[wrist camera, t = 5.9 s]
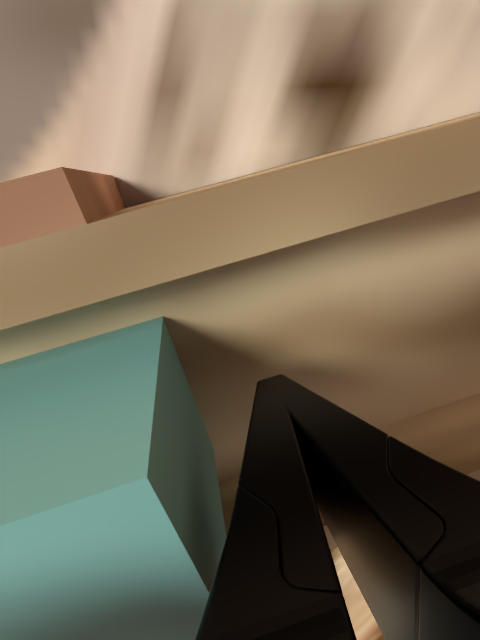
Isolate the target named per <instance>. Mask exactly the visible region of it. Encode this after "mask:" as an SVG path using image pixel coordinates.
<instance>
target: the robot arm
mask: <svg viewBox="0 0 480 640" xmlns="http://www.w3.org/2000/svg"><path fill="white" fill-rule="evenodd" d="M238 485H239V487H238V488H237V492H236V498H235V503H234V508H233V512H232V517H231V522H230V526H229V530H228V534H227V537H226V541H225V544H224V548H223V552H222V555H221V559H220V562H219V565H218V568H217V571H216V575H215V578H214V581H213V584H212V587H211V591H210V594H209V597H208V600H207V603H206V606H205V610H204V613H203V616H202V619H201V622H200V626H199V629H198V632H197V635H196V638H195V640H356V636H355V633H354V630H353V627H352V623H351V620H350V617H349V613H348V610H347V607H346V603H345V600H344V597H343V594H342V589H341V586H340V583H339V579H338V576H337V572H336V569H335V565H334V562H333V558H332V555H331V552H330V548H329V545H328V541H327V538H326V534H325V531H324V527H323V524H322V521H321V517H320V514H319V511H320V513H321V515H322V517H323V519H324V521H325V523H326V525H327V527H328V529H329V531H330V533H331V535H332V537H333V538H334V540H335V542H336V544H337V546H338V548H339V550H340V552H341V554H342V556H343V558H344V560H345V562H346V564H347V566H348V568H349V569H350V571H351V573H352V575H353V577H354V579H355V581H356V583H357V585H358V587H359V589H360V591H361V593H362V595H363V597H364V598H365V600H366V602H367V604H368V606H369V608H370V610H371V612H372V614H373V616H374V618H375V620H376V622H377V624H378V626H379V628H380V629H381V631H382V633H383V635H384V637H385V639H386V640H480V481H479V480H477V479H475V478H472V477H470V476H468V475H466V474H464V473H462V472H460V471H457V470H455V469H453V468H451V467H449V466H447V465H445V464H443V463H441V462H439V461H437V460H435V459H433V458H431V457H429V456H427V455H425V454H423V453H421V452H420V451H418V450H416V449H414V448H412V447H410V446H408V445H407V444H405V443H403V442H401V441H399V440H398V439H396V438H394V437H392V436H389V437H388V434H387V433H385V432H383V431H382V430H380V429H378V428H376V427H375V426H373V425H371V424H369V423H367V422H366V421H364V420H362V419H360V418H359V417H357V416H355V415H353V414H352V413H350V412H348V411H346V410H345V409H343V408H341V407H339V406H337V405H336V404H334V403H332V402H330V401H329V400H327V399H325V398H323V397H322V396H320V395H318V394H316V393H315V392H313V391H311V390H309V389H308V388H306V387H304V386H302V385H300V384H299V383H297V382H295V381H293V380H292V379H290V378H288V377H286V376H285V375H283V374H279V375H276V376H272V377H269V378H266V379H263V380H260V381H258V382H257V385H256V390H255V396H254V401H253V407H252V412H251V418H250V423H249V428H248V434H247V439H246V445H245V450H244V456H243V461H242V466H241V472H240V477H239V483H238ZM318 509H319V510H318Z"/></svg>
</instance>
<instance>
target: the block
mask: <svg viewBox="0 0 480 640" xmlns="http://www.w3.org/2000/svg"><path fill="white" fill-rule="evenodd" d="M225 541H226V531H225V524H224V517H223V510H222V503H221V496H220V489H219V482H218V475H217V468H216V461H215V454H214V449H213V446H212V444H211V441H210V439H209V436H208V433H207V431H206V428H205V425H204V423H203V420H202V417H201V415H200V412H199V410H198V407H197V404H196V402H195V399H194V396H193V394H192V391H191V388H190V386H189V383H188V381H187V378H186V375H185V373H184V370H183V367H182V365H181V362H180V359H179V357H178V354H177V352H176V349H175V346H174V344H173V341H172V338H171V336H170V333H169V330H168V328H167V325H166V323H165V320H164V317H163V316H162V317H159V318H155V319H152V320H148V321H145V322H141V323H138V324H135V325H131V326H128V327H124V328H121V329H118V330H114V331H111V332H107V333H104V334H101V335H97V336H94V337H90V338H87V339H84V340H80V341H77V342H73V343H70V344H66V345H63V346H60V347H56V348H53V349H49V350H46V351H43V352H39V353H36V354H32V355H29V356H26V357H22V358H19V359H15V360H12V361H9V362H5V363H2V364H0V640H195V638H196V635H197V632H198V629H199V626H200V622H201V619H202V616H203V613H204V610H205V606H206V603H207V600H208V597H209V594H210V591H211V587H212V584H213V581H214V578H215V575H216V571H217V568H218V565H219V562H220V559H221V555H222V552H223V548H224V544H225Z"/></svg>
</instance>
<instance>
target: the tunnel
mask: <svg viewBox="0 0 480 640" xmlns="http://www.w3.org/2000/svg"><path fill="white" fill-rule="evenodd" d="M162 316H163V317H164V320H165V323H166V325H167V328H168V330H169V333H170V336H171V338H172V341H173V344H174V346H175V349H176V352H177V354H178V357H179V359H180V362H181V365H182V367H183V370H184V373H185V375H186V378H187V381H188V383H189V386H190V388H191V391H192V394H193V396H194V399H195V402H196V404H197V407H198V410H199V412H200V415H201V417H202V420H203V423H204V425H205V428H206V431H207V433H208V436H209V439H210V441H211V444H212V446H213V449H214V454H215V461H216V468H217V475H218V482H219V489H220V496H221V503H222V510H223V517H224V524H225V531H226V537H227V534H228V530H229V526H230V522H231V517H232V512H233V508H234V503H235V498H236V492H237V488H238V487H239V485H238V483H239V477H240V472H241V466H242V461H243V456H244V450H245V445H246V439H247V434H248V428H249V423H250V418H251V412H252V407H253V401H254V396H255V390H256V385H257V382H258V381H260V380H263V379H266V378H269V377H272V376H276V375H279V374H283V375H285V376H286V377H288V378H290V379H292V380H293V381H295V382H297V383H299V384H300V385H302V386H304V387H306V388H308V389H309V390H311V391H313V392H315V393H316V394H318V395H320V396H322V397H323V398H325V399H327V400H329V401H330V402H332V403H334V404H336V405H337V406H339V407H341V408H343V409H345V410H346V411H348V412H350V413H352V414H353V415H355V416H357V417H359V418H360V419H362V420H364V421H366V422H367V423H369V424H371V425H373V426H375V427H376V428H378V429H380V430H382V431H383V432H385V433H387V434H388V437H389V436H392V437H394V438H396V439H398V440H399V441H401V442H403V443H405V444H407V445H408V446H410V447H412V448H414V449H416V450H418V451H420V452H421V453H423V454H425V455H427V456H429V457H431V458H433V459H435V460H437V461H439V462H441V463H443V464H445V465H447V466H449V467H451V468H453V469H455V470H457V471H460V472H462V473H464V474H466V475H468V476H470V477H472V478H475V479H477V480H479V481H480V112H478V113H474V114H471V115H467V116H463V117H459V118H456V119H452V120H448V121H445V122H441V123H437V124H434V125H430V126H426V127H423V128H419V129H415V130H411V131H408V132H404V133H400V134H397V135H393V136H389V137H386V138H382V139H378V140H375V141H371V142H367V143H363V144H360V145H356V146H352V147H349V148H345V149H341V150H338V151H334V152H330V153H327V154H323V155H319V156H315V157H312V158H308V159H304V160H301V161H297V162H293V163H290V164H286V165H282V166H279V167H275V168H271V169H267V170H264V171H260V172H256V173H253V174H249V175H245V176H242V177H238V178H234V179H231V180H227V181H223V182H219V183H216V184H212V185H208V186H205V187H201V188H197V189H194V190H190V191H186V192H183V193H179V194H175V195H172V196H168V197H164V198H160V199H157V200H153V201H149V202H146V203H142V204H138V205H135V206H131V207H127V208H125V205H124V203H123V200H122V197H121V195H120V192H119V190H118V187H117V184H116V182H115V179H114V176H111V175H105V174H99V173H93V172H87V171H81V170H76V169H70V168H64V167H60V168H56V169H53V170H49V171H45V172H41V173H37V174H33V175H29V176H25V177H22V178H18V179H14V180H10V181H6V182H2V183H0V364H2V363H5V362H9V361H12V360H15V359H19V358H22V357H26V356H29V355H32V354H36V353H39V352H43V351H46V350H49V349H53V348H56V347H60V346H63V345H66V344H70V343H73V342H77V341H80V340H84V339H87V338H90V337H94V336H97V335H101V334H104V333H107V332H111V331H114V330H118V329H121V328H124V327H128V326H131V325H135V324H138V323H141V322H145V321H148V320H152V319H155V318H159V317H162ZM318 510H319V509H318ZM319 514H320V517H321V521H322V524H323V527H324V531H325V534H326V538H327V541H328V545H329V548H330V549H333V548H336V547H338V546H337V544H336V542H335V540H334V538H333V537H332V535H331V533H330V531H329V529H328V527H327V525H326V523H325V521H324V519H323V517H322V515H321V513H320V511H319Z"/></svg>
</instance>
